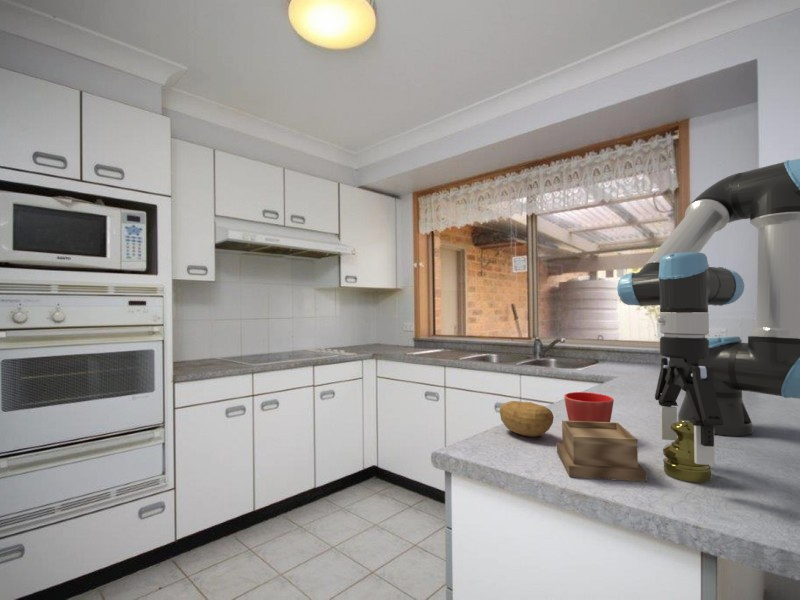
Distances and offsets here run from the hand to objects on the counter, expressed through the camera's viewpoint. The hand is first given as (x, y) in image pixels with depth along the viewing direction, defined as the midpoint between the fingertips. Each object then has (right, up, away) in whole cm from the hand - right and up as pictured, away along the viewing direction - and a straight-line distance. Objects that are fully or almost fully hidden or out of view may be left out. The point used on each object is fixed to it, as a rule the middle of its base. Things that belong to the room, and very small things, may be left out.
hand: (685, 450), depth 76 cm
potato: (-22, -6, +25) cm, 34 cm away
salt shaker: (0, -5, 0) cm, 5 cm away
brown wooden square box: (-14, -5, +5) cm, 16 cm away
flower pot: (-7, -5, +23) cm, 25 cm away
